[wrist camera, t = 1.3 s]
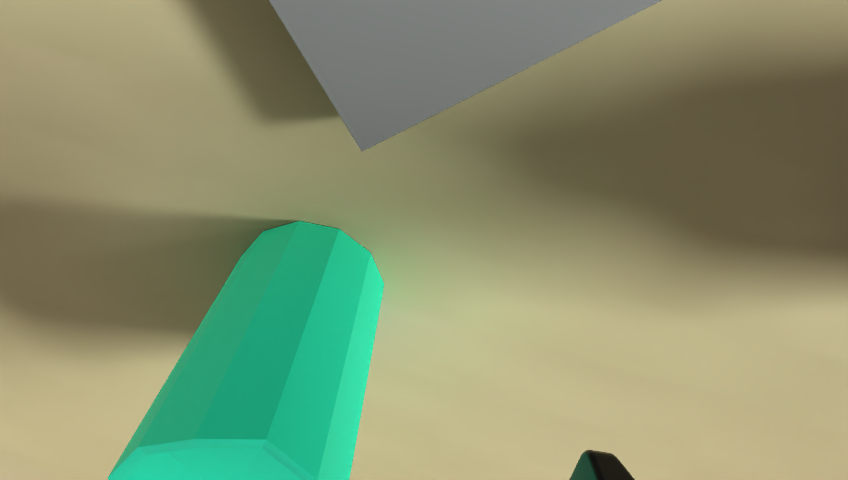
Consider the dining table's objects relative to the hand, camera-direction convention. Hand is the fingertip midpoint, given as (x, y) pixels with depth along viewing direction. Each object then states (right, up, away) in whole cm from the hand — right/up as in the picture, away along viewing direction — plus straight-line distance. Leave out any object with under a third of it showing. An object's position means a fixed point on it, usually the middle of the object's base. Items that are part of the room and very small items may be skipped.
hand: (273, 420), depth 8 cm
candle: (-2, +1, +16) cm, 16 cm away
